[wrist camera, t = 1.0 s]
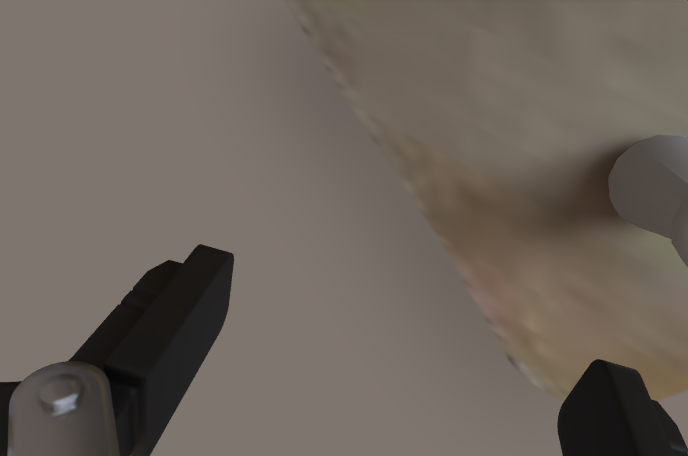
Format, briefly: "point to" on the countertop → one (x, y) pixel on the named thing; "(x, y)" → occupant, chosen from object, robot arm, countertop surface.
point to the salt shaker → (654, 188)
